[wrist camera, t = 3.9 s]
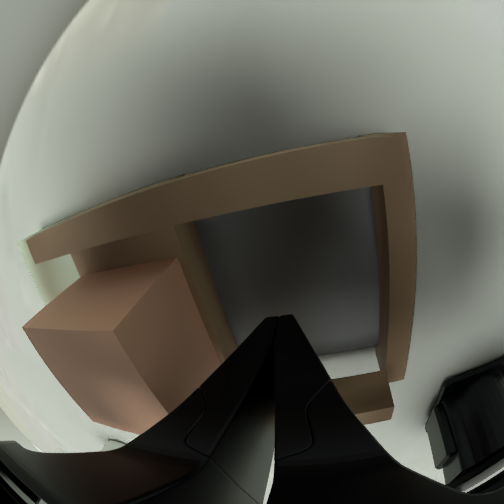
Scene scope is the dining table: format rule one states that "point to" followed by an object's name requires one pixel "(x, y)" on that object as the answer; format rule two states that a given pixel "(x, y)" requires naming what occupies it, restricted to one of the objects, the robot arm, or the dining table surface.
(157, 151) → the dining table surface
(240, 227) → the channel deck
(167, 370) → the block
